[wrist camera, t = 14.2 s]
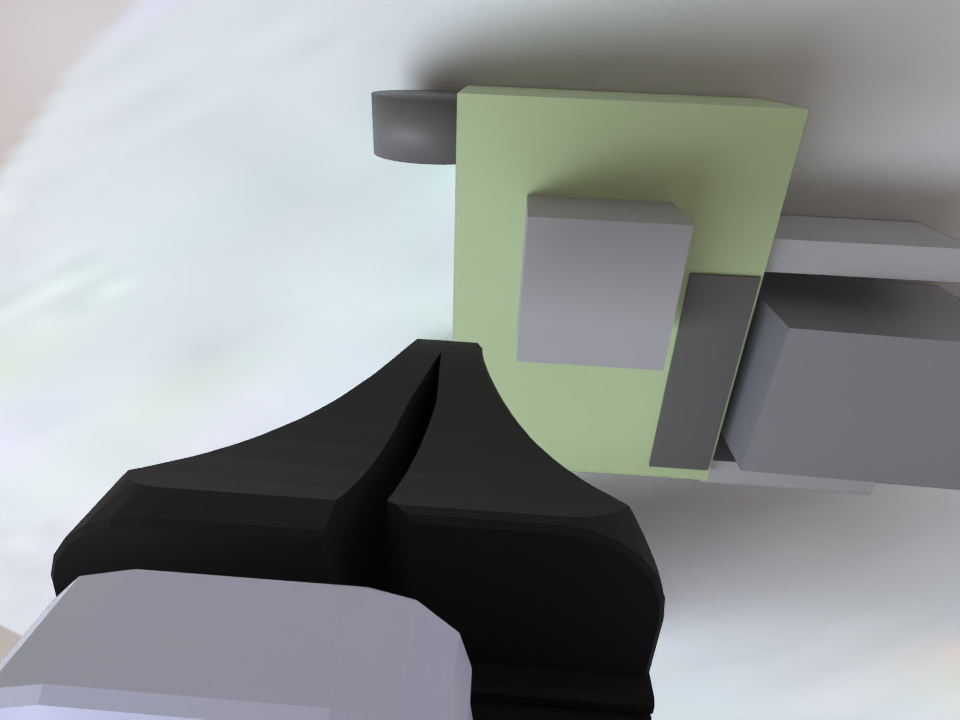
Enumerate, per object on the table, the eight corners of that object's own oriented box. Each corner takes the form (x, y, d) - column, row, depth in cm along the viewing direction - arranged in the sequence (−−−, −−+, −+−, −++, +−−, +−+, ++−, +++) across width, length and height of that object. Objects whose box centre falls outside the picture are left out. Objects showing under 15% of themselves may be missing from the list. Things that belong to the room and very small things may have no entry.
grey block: (880, 405, 23) (964, 490, 19) (699, 389, 23) (740, 470, 19) (934, 284, 21) (1046, 349, 16) (732, 268, 21) (789, 327, 17)
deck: (831, 444, 24) (917, 555, 19) (396, 415, 25) (362, 515, 19) (962, 107, 18) (1140, 133, 13) (385, 81, 19) (332, 95, 13)
